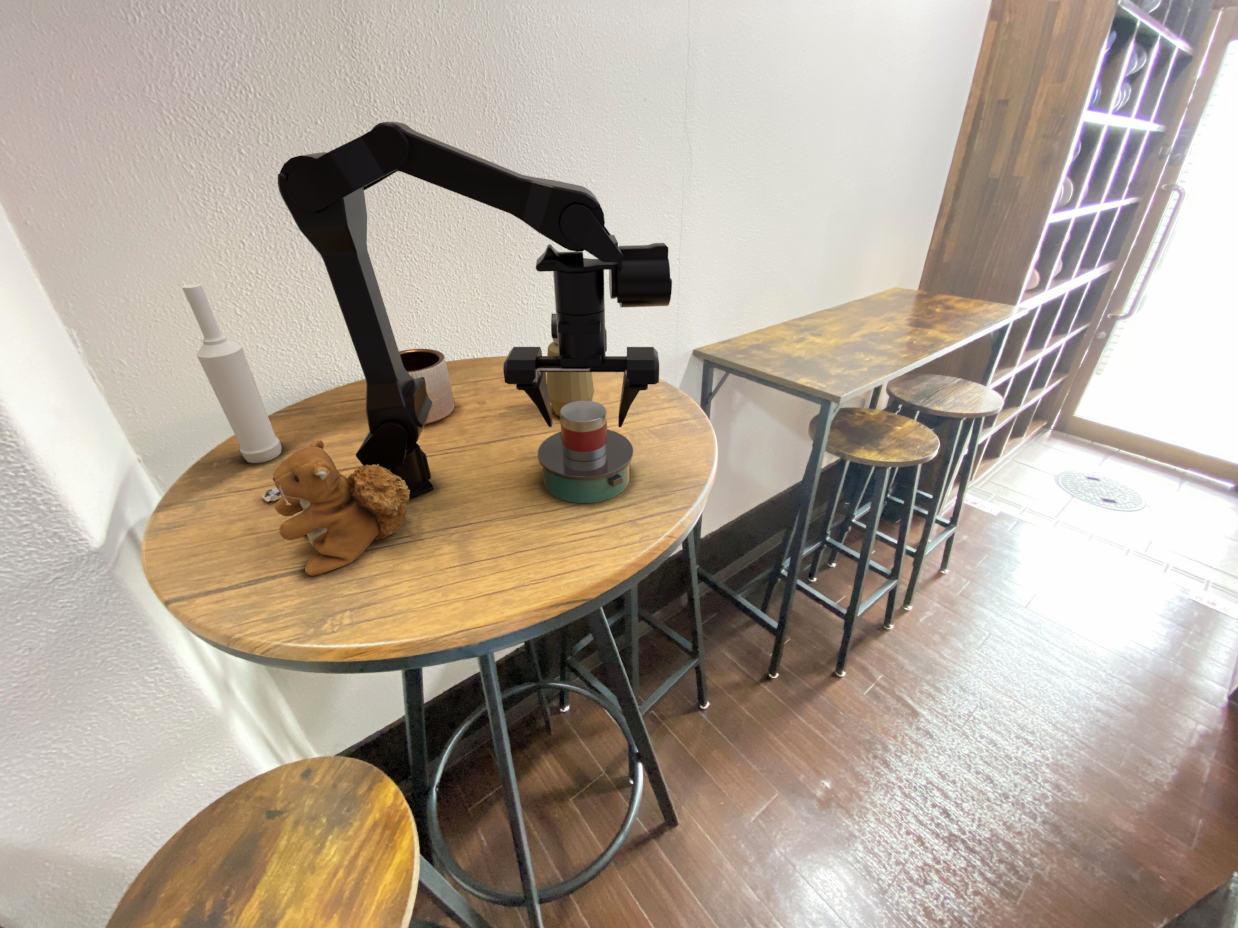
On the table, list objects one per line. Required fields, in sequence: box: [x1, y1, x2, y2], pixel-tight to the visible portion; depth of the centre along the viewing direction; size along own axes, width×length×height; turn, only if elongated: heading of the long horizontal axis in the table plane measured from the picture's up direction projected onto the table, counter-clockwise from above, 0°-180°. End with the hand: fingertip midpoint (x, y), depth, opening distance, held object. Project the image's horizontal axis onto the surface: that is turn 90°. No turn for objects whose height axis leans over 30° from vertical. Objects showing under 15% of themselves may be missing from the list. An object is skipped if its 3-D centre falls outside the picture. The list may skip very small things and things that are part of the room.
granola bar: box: [260, 486, 282, 502], centre depth 72 cm, size 7×2×1 cm, turn 140°
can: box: [560, 400, 608, 461], centre depth 71 cm, size 6×6×6 cm
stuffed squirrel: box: [272, 438, 410, 577], centre depth 61 cm, size 10×14×13 cm
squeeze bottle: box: [546, 338, 595, 418], centre depth 87 cm, size 8×8×18 cm
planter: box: [399, 348, 455, 426], centre depth 89 cm, size 11×11×10 cm
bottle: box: [181, 283, 283, 464], centre depth 74 cm, size 5×5×25 cm
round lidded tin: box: [537, 428, 634, 504], centre depth 74 cm, size 13×14×5 cm
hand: (585, 425), depth 71 cm, fingers open, 9 cm apart
